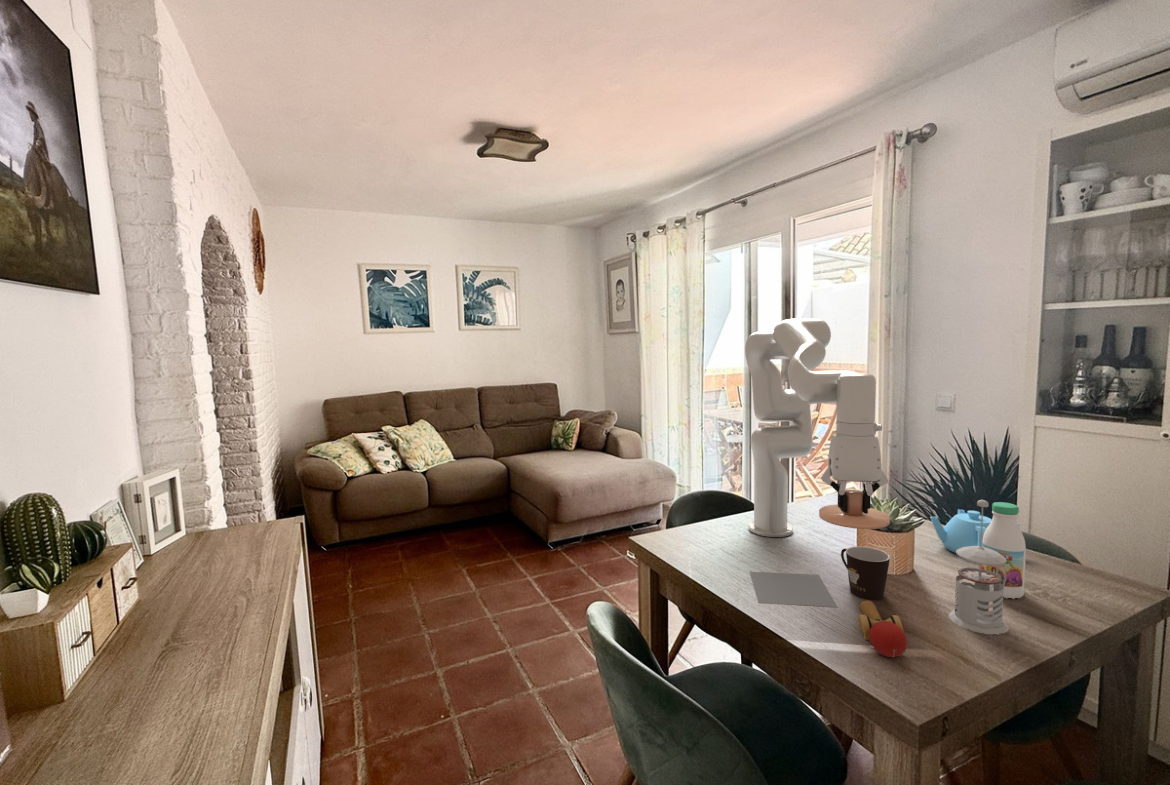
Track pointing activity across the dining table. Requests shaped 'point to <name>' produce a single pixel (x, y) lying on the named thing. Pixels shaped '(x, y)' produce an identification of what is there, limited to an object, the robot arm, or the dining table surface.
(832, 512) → the lid
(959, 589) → the french press
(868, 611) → the kendama
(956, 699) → the dining table surface
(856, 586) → the coffee mug
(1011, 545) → the milk bottle
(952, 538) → the teapot
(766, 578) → the mat
